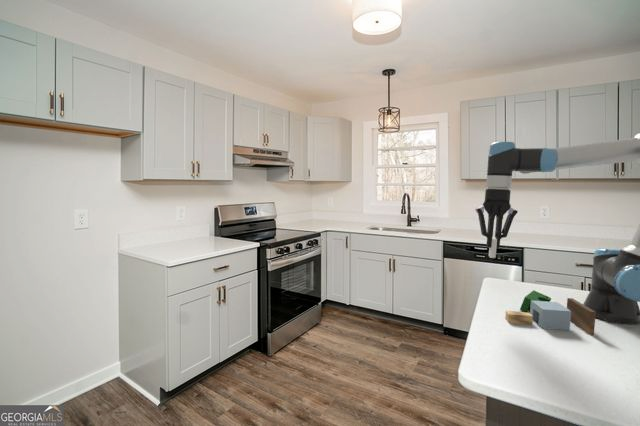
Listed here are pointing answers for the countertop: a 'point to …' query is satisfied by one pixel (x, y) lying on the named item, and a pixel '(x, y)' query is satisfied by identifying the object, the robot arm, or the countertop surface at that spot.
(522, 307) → the clamp
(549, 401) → the countertop surface
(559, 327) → the block
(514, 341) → the countertop surface
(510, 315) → the tan rectangular bar
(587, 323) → the wall
